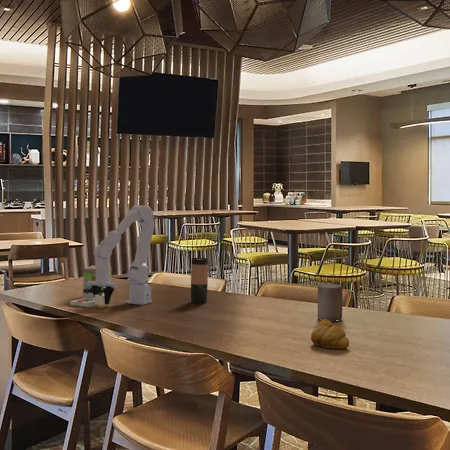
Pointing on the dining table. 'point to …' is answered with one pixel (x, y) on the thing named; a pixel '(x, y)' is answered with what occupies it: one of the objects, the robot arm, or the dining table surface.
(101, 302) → the plug
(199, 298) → the travel mug
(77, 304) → the socket plate
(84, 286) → the tea box
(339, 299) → the pillar candle
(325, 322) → the bread roll
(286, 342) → the dining table surface
